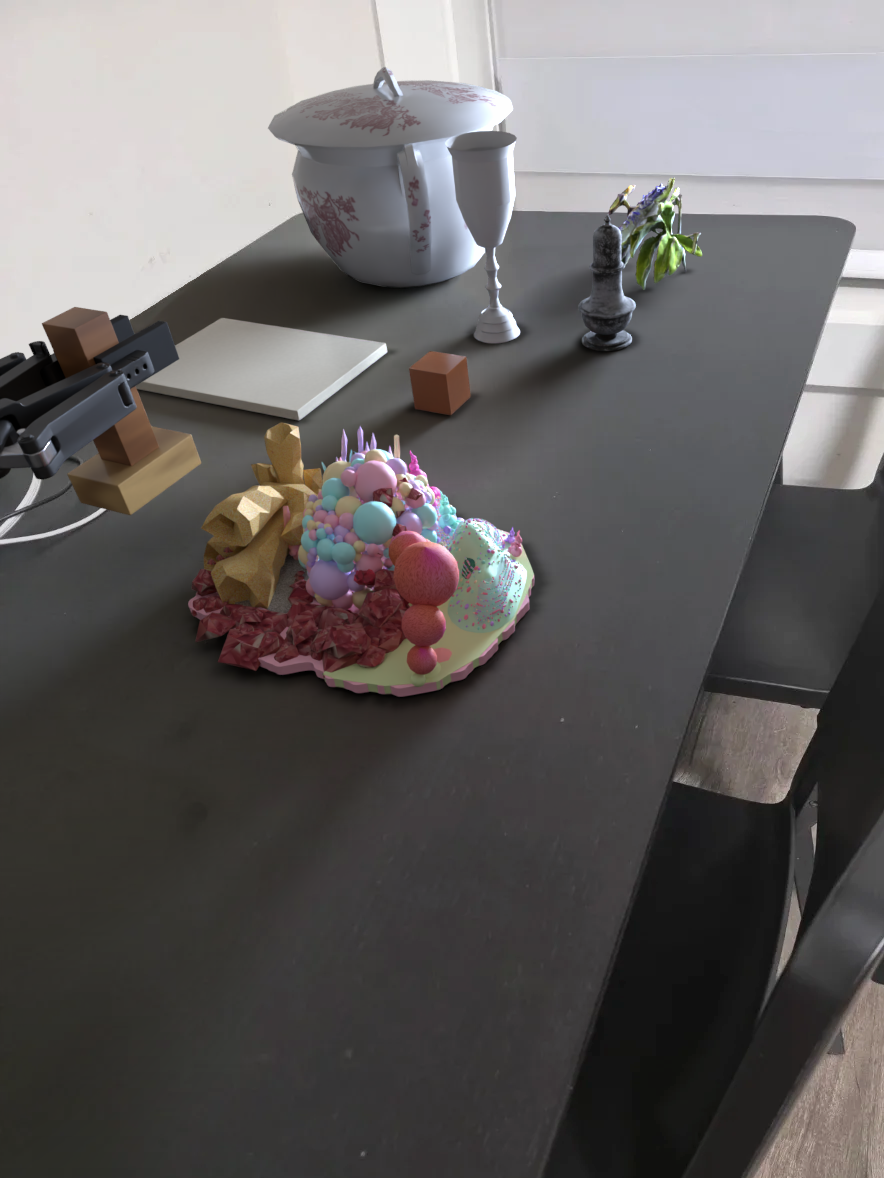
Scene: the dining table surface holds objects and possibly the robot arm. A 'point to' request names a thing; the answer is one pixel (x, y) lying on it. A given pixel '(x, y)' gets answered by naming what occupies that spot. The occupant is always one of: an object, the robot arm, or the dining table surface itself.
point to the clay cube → (440, 382)
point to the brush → (118, 427)
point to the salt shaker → (607, 294)
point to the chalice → (487, 213)
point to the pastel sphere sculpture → (356, 574)
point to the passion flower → (648, 220)
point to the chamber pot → (388, 175)
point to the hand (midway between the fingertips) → (149, 337)
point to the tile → (263, 367)
